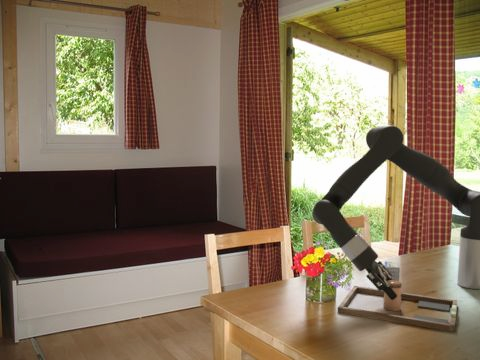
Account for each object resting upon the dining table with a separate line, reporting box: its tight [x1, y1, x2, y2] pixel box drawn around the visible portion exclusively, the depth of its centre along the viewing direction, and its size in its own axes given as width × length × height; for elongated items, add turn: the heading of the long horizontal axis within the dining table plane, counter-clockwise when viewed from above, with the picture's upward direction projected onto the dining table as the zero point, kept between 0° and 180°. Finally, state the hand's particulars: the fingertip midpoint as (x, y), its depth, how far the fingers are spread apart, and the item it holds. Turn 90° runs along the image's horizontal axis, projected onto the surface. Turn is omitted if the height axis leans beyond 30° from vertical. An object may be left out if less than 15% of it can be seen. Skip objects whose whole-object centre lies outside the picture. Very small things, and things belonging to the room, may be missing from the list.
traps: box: [413, 300, 451, 324], centre depth 152 cm, size 20×9×1 cm, turn 155°
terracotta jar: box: [383, 280, 403, 312], centre depth 156 cm, size 5×5×8 cm
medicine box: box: [384, 260, 401, 282], centre depth 175 cm, size 8×4×9 cm, turn 168°
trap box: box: [337, 285, 458, 333], centre depth 156 cm, size 23×32×2 cm
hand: (396, 294), depth 156 cm, fingers open, 6 cm apart
